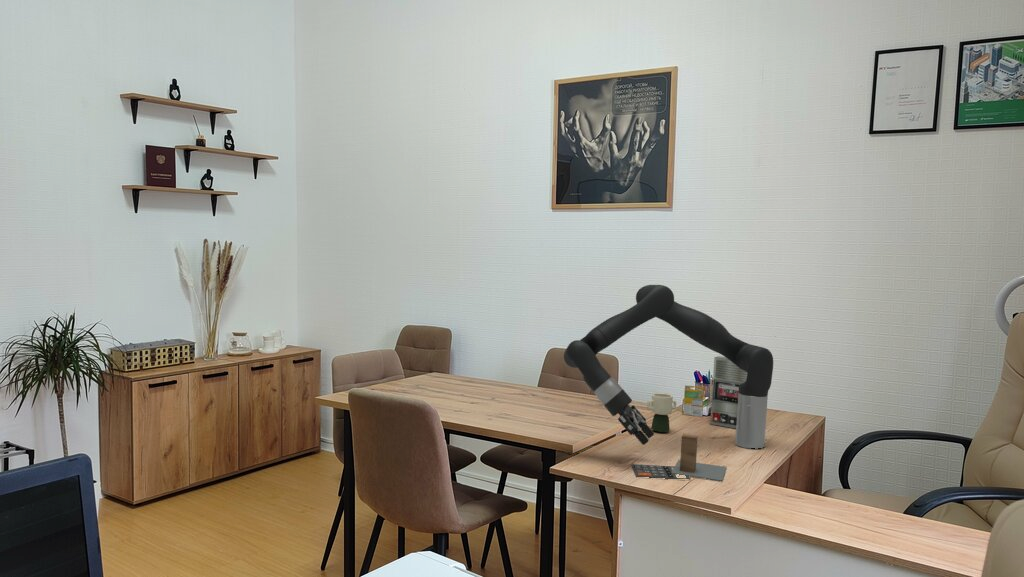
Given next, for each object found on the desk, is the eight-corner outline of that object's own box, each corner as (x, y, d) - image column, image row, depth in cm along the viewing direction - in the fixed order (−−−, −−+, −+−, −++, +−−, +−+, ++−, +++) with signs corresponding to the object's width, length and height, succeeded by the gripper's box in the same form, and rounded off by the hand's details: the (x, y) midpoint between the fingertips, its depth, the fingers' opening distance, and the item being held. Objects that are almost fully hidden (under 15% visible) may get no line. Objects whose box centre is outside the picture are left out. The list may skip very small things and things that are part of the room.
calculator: (631, 463, 212) (683, 466, 212) (631, 466, 212) (682, 469, 212) (636, 475, 201) (691, 478, 200) (636, 479, 201) (690, 482, 200)
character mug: (670, 428, 259) (672, 392, 258) (679, 434, 252) (681, 397, 251) (641, 429, 256) (643, 392, 255) (650, 434, 249) (652, 397, 248)
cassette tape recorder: (709, 424, 268) (713, 357, 267) (714, 421, 273) (718, 356, 272) (746, 431, 260) (751, 362, 259) (751, 428, 265) (756, 360, 264)
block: (681, 467, 211) (683, 433, 210) (695, 469, 210) (697, 435, 209) (679, 470, 207) (681, 436, 207) (694, 472, 206) (696, 438, 205)
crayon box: (702, 415, 284) (704, 385, 283) (702, 416, 281) (704, 387, 280) (683, 413, 285) (684, 384, 285) (683, 414, 283) (684, 385, 282)
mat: (678, 461, 218) (678, 460, 218) (726, 468, 213) (726, 466, 213) (671, 474, 205) (671, 472, 205) (722, 481, 200) (722, 480, 200)
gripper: (616, 392, 208) (654, 437, 204) (626, 384, 221) (662, 426, 218) (597, 408, 210) (634, 453, 207) (609, 399, 223) (644, 441, 220)
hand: (649, 439), depth 212 cm, fingers open, 8 cm apart
